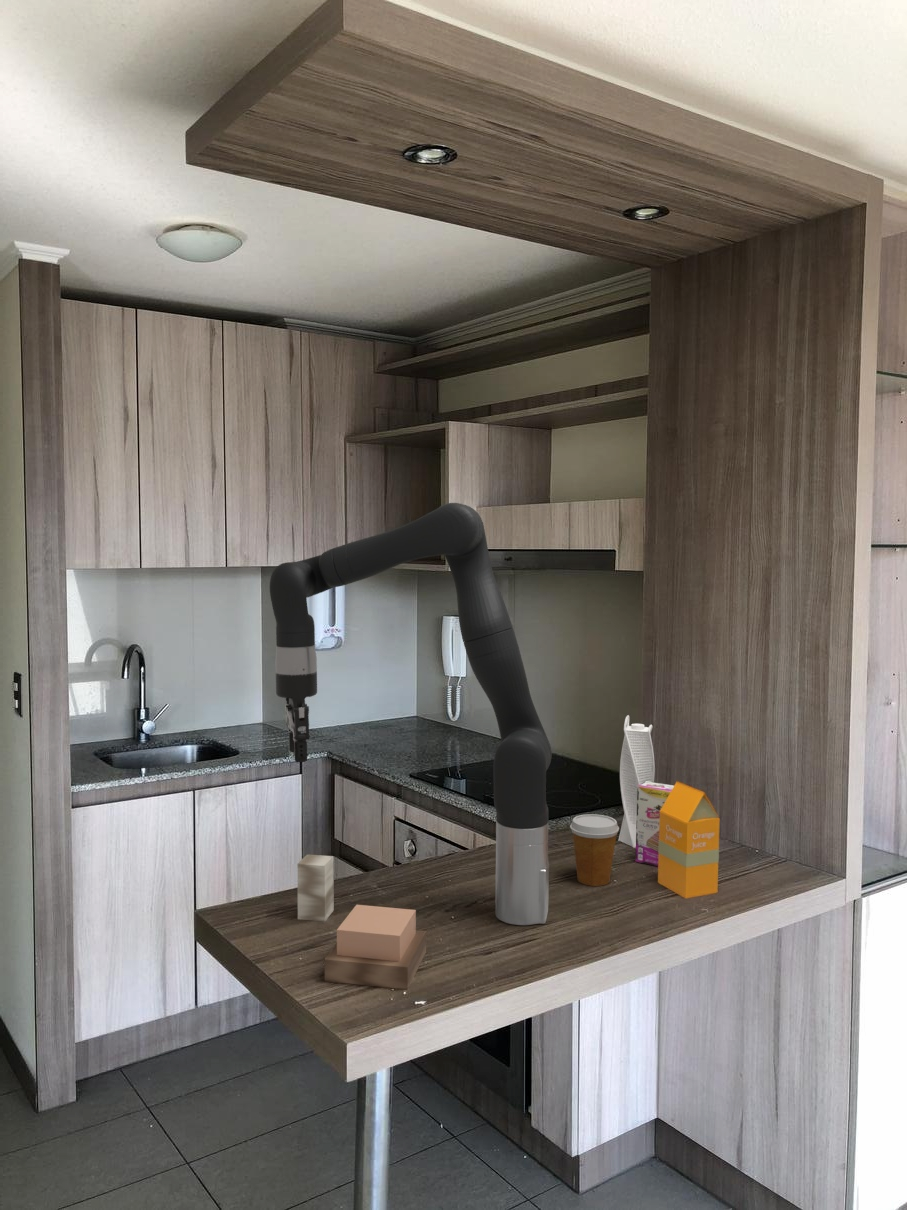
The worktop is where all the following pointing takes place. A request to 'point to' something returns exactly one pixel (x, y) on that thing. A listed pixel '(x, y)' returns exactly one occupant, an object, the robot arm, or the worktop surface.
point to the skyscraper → (634, 774)
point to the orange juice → (688, 843)
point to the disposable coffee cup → (594, 847)
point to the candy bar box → (649, 820)
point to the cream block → (315, 887)
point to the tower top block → (376, 932)
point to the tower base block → (377, 967)
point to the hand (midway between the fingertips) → (298, 756)
